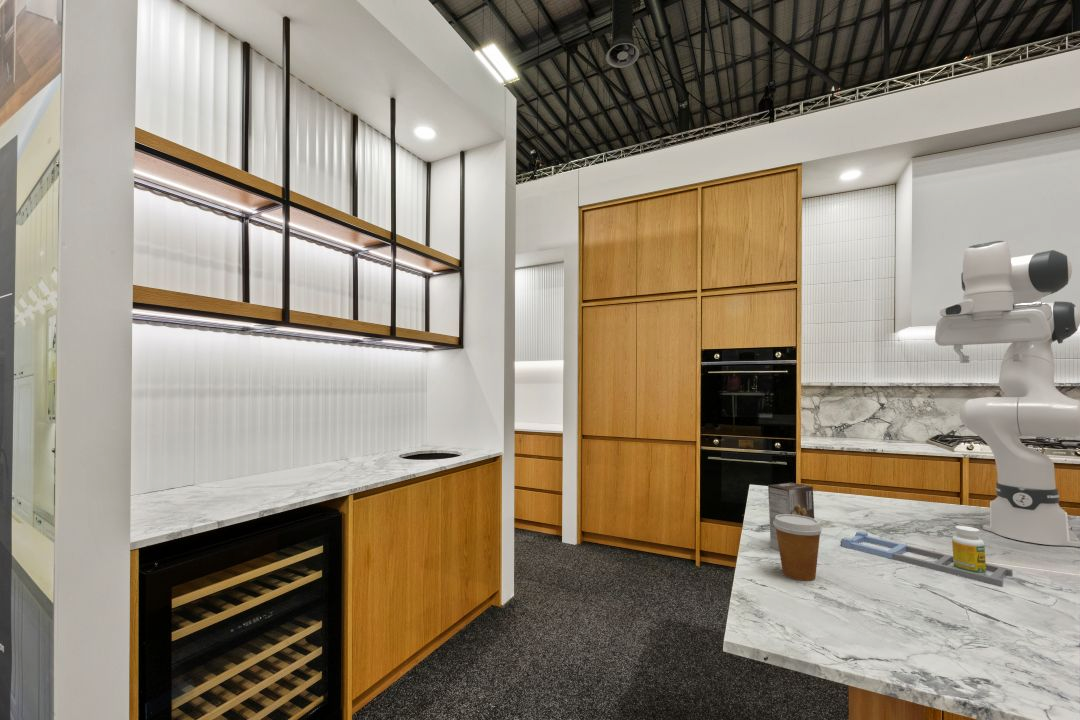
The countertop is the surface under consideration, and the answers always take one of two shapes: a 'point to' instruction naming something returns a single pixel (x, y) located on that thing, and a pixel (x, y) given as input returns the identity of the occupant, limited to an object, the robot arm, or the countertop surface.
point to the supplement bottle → (968, 550)
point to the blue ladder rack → (938, 565)
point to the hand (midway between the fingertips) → (990, 362)
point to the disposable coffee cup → (798, 545)
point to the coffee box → (788, 504)
